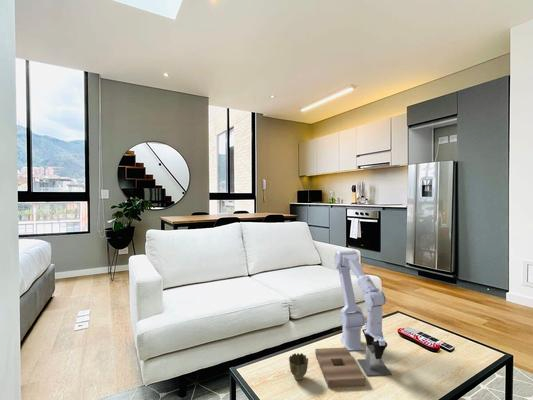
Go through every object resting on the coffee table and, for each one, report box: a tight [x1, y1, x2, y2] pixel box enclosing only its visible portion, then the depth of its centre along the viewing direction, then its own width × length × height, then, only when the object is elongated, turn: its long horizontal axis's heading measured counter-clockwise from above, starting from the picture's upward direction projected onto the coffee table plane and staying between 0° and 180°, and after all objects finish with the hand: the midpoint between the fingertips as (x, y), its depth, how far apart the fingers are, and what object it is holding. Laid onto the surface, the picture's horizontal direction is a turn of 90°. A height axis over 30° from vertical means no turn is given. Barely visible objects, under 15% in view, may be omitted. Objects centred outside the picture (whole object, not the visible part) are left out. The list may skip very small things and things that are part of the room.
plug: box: [365, 344, 380, 370], centre depth 116 cm, size 4×4×8 cm
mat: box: [357, 358, 393, 377], centre depth 116 cm, size 10×10×1 cm
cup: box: [288, 352, 309, 381], centre depth 110 cm, size 8×7×8 cm
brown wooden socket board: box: [314, 346, 366, 389], centre depth 115 cm, size 20×14×3 cm
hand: (374, 352), depth 116 cm, fingers open, 7 cm apart
